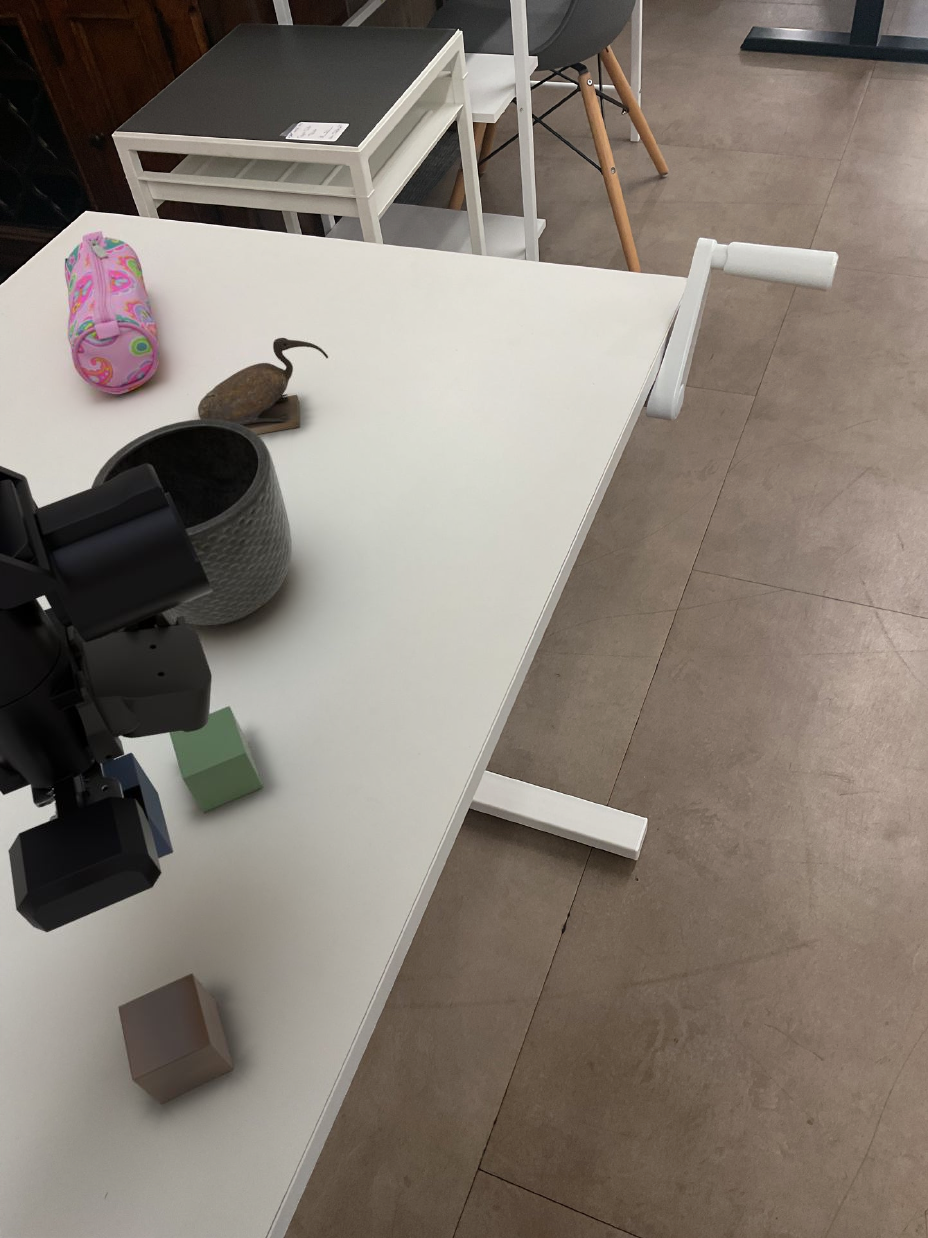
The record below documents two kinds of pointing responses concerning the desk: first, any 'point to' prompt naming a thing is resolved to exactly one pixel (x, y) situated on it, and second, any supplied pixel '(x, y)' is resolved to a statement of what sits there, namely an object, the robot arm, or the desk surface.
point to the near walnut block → (174, 1039)
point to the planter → (219, 511)
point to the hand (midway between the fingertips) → (122, 829)
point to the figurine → (257, 395)
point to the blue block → (133, 775)
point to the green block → (216, 761)
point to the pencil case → (110, 315)
